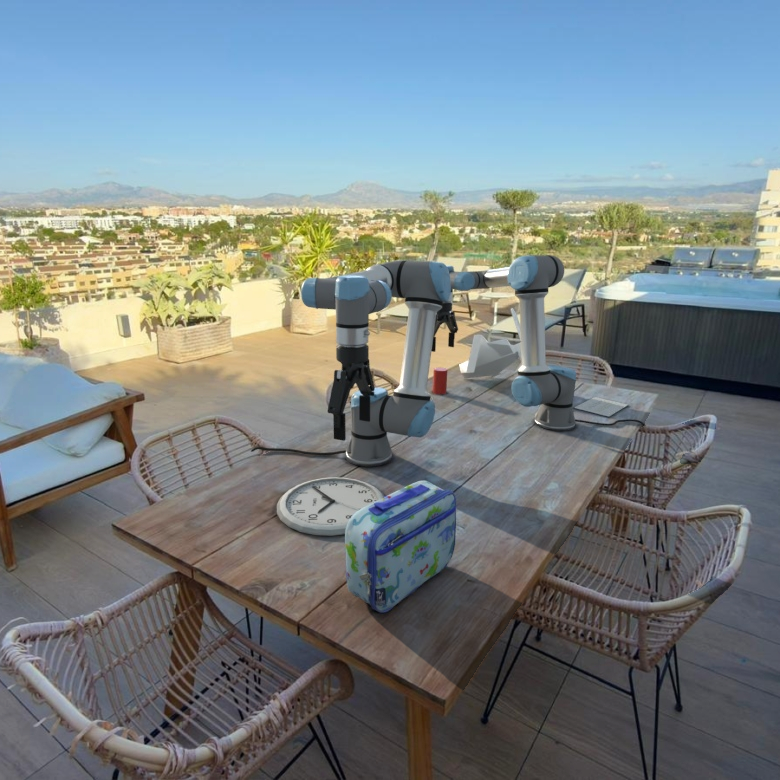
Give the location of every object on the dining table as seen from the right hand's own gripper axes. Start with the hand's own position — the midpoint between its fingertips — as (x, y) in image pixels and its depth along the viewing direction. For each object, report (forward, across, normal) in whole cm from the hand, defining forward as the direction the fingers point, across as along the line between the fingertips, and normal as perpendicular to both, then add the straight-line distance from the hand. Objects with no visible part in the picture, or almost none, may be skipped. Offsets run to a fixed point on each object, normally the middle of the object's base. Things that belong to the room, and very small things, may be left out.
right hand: (441, 349), depth 236 cm
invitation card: (+21, -35, +61) cm, 73 cm away
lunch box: (+22, +113, +78) cm, 139 cm away
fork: (+21, +20, +8) cm, 30 cm away
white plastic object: (+21, -30, +12) cm, 38 cm away
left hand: (-4, +104, +53) cm, 117 cm away
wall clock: (+22, +102, +42) cm, 113 cm away
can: (+21, 0, -1) cm, 21 cm away
